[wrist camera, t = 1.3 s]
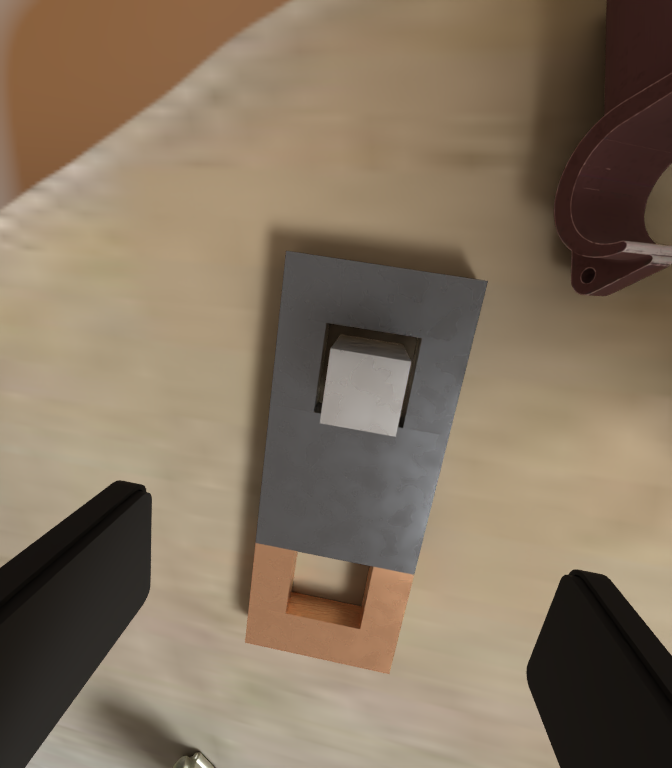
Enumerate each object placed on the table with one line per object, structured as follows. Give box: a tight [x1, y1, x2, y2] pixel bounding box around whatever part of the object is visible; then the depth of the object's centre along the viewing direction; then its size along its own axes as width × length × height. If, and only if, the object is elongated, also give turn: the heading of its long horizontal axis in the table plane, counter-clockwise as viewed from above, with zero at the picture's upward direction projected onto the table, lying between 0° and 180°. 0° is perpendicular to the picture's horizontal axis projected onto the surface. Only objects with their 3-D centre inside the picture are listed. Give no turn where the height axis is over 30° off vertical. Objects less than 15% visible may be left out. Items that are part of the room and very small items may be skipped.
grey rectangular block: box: [320, 334, 411, 437], centre depth 26 cm, size 5×5×7 cm
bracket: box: [554, 0, 672, 296], centre depth 20 cm, size 6×17×10 cm, turn 2°
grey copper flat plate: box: [245, 251, 488, 674], centre depth 31 cm, size 14×36×2 cm, turn 172°
